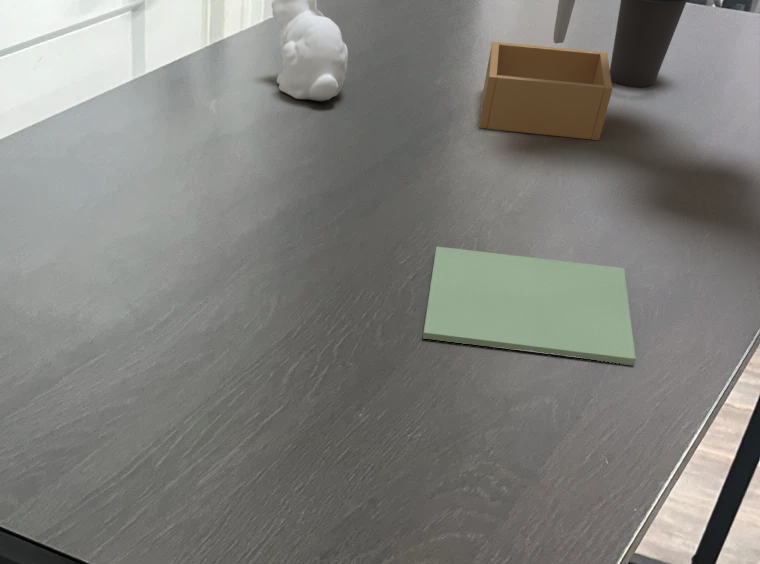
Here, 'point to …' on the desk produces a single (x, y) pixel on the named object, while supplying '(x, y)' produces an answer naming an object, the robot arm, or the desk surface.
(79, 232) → the desk surface
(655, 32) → the coffee cup
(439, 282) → the mat
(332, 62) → the rabbit
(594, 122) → the storage box
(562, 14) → the pen
